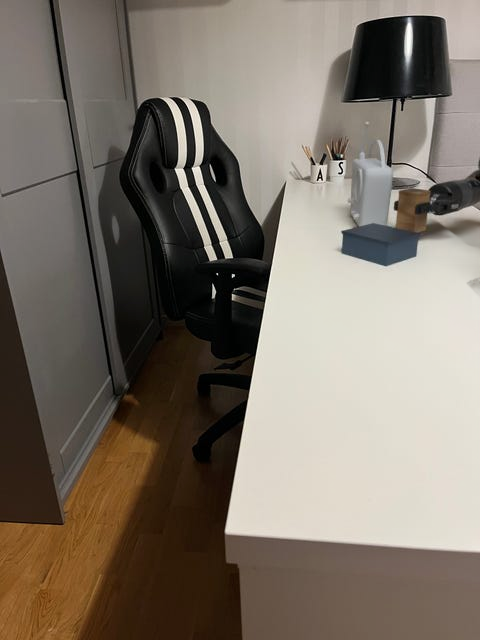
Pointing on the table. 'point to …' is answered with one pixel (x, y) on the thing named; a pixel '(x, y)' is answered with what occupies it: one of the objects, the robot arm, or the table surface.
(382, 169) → the radio
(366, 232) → the storage box
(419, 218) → the brown wooden block
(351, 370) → the table surface
